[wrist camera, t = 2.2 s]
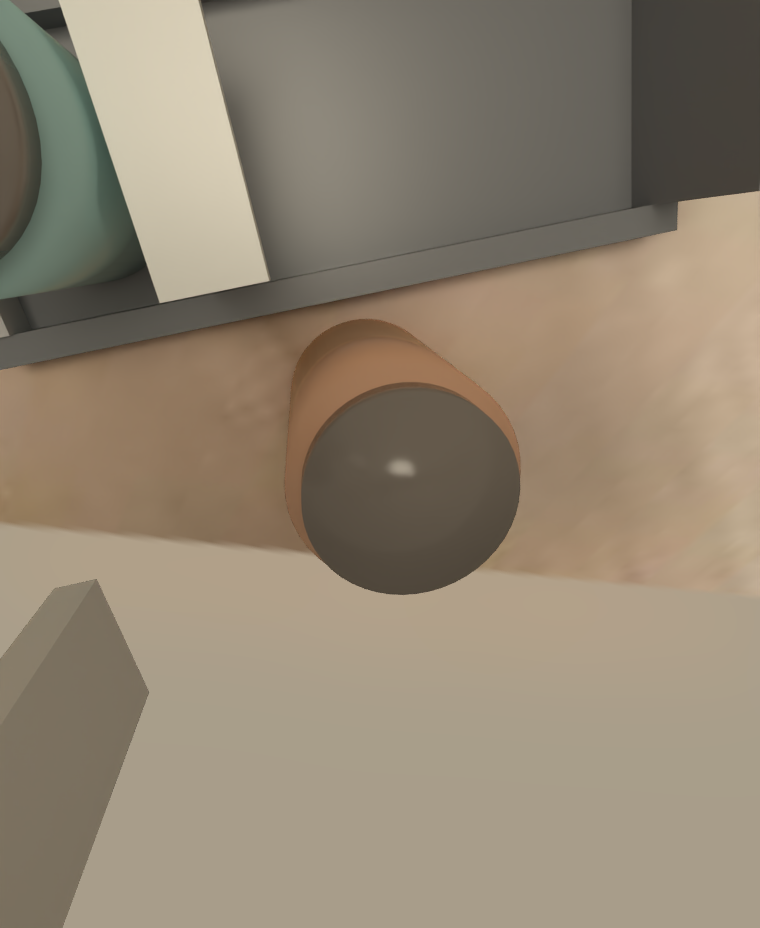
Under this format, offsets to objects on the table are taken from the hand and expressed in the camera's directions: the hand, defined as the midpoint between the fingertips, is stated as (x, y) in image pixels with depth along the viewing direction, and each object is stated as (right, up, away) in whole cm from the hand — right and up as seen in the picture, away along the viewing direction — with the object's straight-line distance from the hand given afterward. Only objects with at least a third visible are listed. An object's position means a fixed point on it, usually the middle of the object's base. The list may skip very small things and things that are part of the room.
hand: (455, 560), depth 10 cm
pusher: (-7, +12, +7) cm, 15 cm away
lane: (-4, +13, +8) cm, 15 cm away
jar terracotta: (-2, +5, +11) cm, 12 cm away
